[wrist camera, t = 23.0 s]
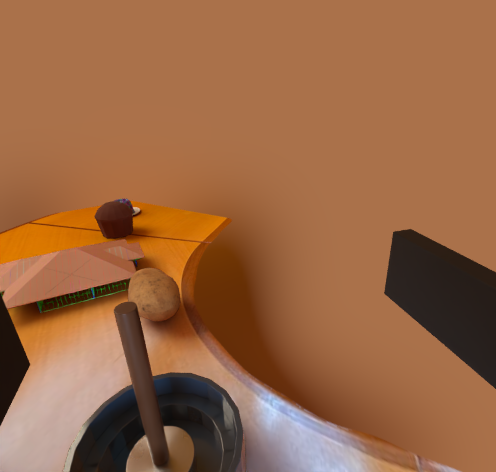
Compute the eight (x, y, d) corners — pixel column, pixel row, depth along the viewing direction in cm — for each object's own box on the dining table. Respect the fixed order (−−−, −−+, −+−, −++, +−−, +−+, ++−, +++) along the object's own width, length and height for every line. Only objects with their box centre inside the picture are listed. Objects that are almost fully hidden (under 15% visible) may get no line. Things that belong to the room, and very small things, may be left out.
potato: (141, 344, 55) (133, 305, 52) (124, 304, 66) (116, 270, 63) (195, 324, 59) (189, 287, 56) (170, 289, 71) (165, 257, 67)
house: (153, 284, 73) (146, 252, 69) (-26, 332, 60) (-44, 295, 57) (137, 247, 92) (132, 220, 88) (-1, 277, 79) (-13, 247, 76)
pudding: (139, 217, 116) (136, 203, 113) (103, 221, 113) (100, 207, 111) (141, 207, 126) (139, 194, 124) (109, 210, 124) (106, 197, 122)
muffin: (98, 230, 105) (91, 201, 101) (133, 223, 110) (127, 195, 106) (101, 243, 95) (93, 211, 91) (139, 235, 100) (133, 204, 96)
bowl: (277, 466, 36) (277, 427, 33) (141, 657, 24) (123, 619, 21) (179, 386, 47) (173, 352, 44) (51, 491, 35) (32, 452, 32)
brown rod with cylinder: (210, 470, 35) (186, 302, 26) (156, 530, 30) (105, 351, 22) (171, 431, 40) (139, 276, 31) (118, 479, 35) (63, 312, 26)
